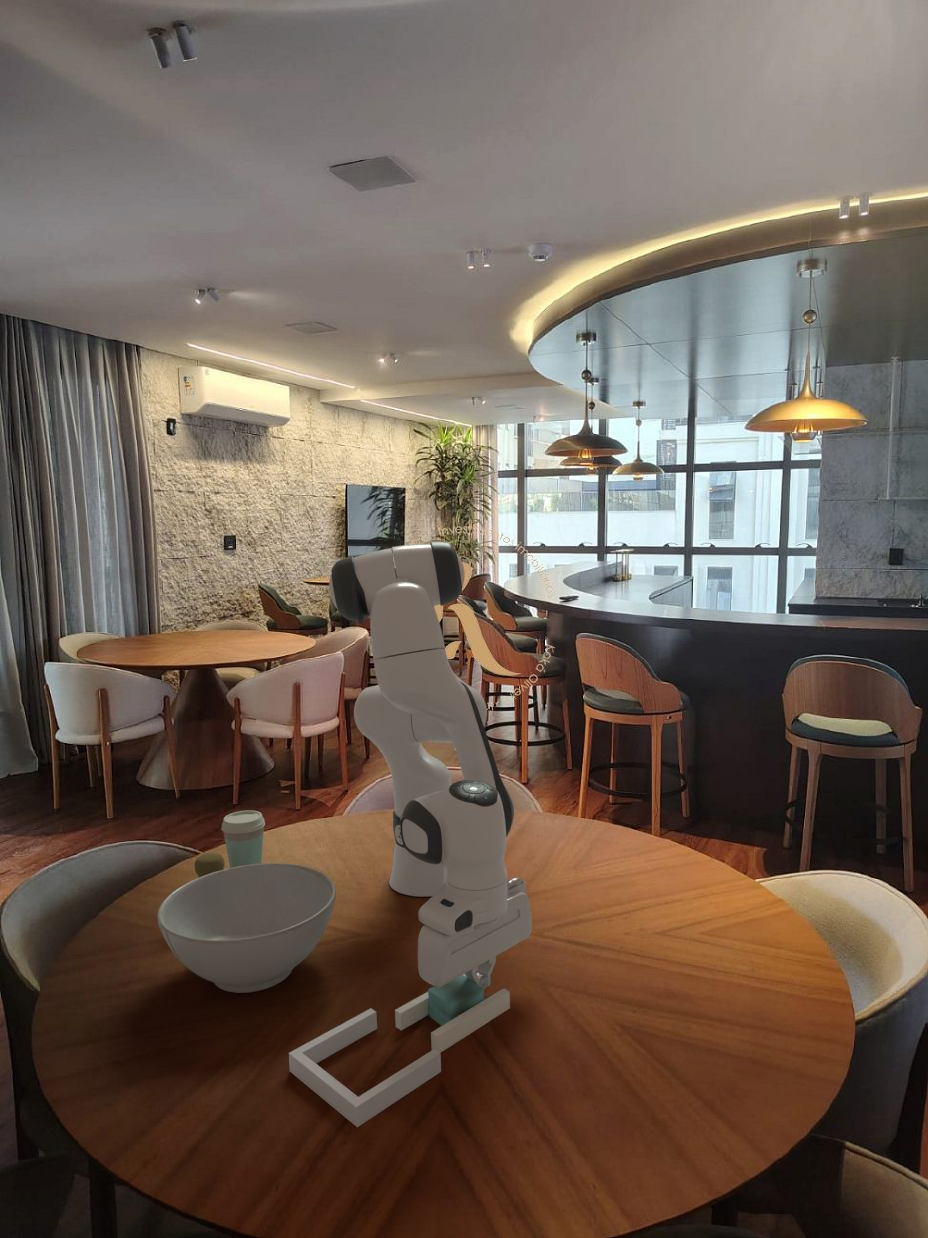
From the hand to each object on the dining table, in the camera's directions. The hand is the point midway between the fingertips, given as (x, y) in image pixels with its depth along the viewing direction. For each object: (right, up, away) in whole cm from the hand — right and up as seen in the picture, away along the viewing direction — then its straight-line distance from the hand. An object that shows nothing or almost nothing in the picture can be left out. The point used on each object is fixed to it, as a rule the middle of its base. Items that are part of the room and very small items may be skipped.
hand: (479, 988), depth 117 cm
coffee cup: (-46, +1, +47) cm, 66 cm away
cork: (-48, -1, +30) cm, 57 cm away
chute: (-4, -3, -3) cm, 6 cm away
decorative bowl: (-35, -2, +11) cm, 37 cm away
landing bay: (-14, -4, -14) cm, 20 cm away
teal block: (-3, -3, -3) cm, 5 cm away
